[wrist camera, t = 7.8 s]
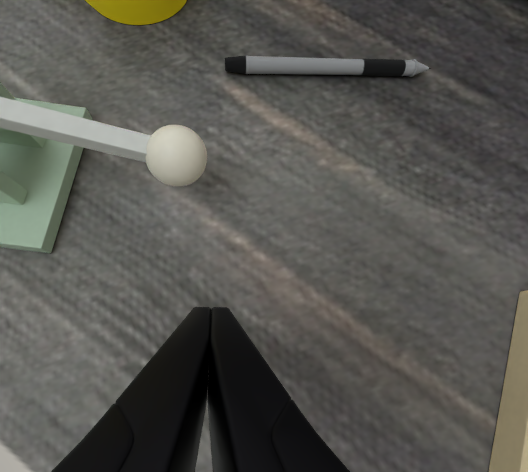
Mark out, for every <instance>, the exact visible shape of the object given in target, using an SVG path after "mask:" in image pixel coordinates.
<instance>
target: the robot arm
mask: <svg viewBox="0 0 528 472" xmlns="http://www.w3.org/2000/svg"><path fill="white" fill-rule="evenodd" d="M208 369H209V372H208ZM207 390H208V415H209V428H210V441H211V454H212V466H213V472H350V471H349V470H348V469H347V468H346V466H345V465H344V464H343V463H342V462H341V461H340V460H339V459H338V457H337V456H336V455H335V454H334V453H333V452H332V450H331V449H330V448H329V447H328V446H327V445H326V443H325V442H324V441H323V440H322V439H321V437H320V436H319V435H318V434H317V433H316V431H315V430H314V429H313V427H312V426H311V425H310V423H309V422H308V421H307V419H306V418H305V417H304V415H303V414H302V413H301V411H300V410H299V408H298V407H297V405H296V404H295V402H294V401H293V400H291V397H290V395H289V394H288V393H287V391H286V390H285V388H284V387H283V385H282V384H281V383H280V381H279V380H278V378H277V377H276V375H275V374H274V373H273V371H272V370H271V368H270V367H269V365H268V364H267V363H266V361H265V360H264V358H263V357H262V355H261V354H260V353H259V351H258V350H257V348H256V347H255V345H254V344H253V343H252V341H251V340H250V338H249V337H248V335H247V334H246V332H245V331H244V330H243V328H242V327H241V325H240V324H239V322H238V321H237V320H236V318H235V317H234V315H233V314H232V312H231V311H230V310H229V308H227V307H213V308H212V310H211V308H209V307H195V308H193V309H192V311H191V312H190V313H189V314H188V315H187V317H186V318H185V319H184V320H183V321H182V323H181V324H180V325H179V326H178V327H177V329H176V330H175V331H174V332H173V333H172V335H171V336H170V337H169V338H168V339H167V341H166V342H165V343H164V344H163V345H162V347H161V348H160V349H159V350H158V351H157V353H156V354H155V355H154V356H153V357H152V358H151V360H150V361H149V362H148V363H147V364H146V366H145V367H144V368H143V369H142V370H141V372H140V373H139V374H138V375H137V376H136V378H135V379H134V380H133V381H132V382H131V384H130V385H129V386H128V387H127V388H126V390H125V391H124V392H123V393H122V394H121V396H120V397H119V398H118V399H117V400H116V403H115V404H113V405H112V406H111V407H110V408H109V410H108V411H107V412H106V413H105V415H104V416H103V417H102V418H101V419H100V420H99V422H98V423H97V424H96V425H95V426H94V427H93V428H92V430H91V431H90V432H89V433H88V434H87V435H86V436H85V437H84V439H83V440H82V441H81V442H80V443H79V444H78V445H77V446H76V447H75V448H74V449H73V450H72V451H71V452H70V453H69V454H68V455H67V456H66V457H65V458H64V459H63V460H62V461H61V462H60V463H59V464H58V465H57V466H56V467H55V468H54V469H53V470H52V471H51V472H195V467H196V461H197V455H198V449H199V443H200V438H201V432H202V426H203V420H204V414H205V408H206V401H207Z"/></svg>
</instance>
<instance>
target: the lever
mask: <svg viewBox="0 0 528 472" xmlns="http://www.w3.org/2000/svg"><path fill="white" fill-rule="evenodd" d="M0 128H4V129H8V130H12V131H16V132H21V133H25V134H29V135H33V136H37V137H42V138H46V139H50V140H54V141H58V142H62V143H67V144H71V145H75V146H79V147H83V148H88V149H92V150H96V151H100V152H104V153H109V154H113V155H117V156H121V157H125V158H130V159H134V160H138V161H142V162H146V164H147V166H148V168H149V170H150V172H151V173H152V174H153V176H154V177H155V178H156V179H158V180H159V181H160V182H162V183H164V184H166V185H170V186H175V187H180V186H186V185H189V184H191V183H193V182H195V181H196V180H197V179H198V178H199V177H200V176H201V175H202V173H203V172H204V170H205V167H206V164H207V151H206V147H205V145H204V143H203V141H202V139H201V138H200V137H199V136H198V134H196V133H195V132H194V131H193V130H191V129H189V128H187V127H185V126H181V125H168V126H164V127H162V128H160V129H158V130H157V131H155V132H154V133H153V134H152V135H151V136H150V135H146V134H143V133H139V132H135V131H131V130H127V129H123V128H120V127H116V126H112V125H108V124H104V123H100V122H96V121H93V120H89V119H85V118H81V117H77V116H73V115H69V114H66V113H62V112H58V111H54V110H50V109H46V108H42V107H39V106H35V105H31V104H27V103H23V102H19V101H15V100H12V99H8V98H4V97H0Z"/></svg>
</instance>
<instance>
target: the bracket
mask: <svg viewBox="0 0 528 472" xmlns="http://www.w3.org/2000/svg"><path fill="white" fill-rule="evenodd" d="M0 97H4V98H8V99H12V100H15V101H19V102H23V103H27V104H31V105H35V106H39V107H42V108H46V109H50V110H54V111H58V112H62V113H66V114H69V115H73V116H77V117H81V118H85V119H89V120H92V117H91V115H90V114H89V112H88V111H87V109H86V108H83V107H76V106H69V105H62V104H55V103H48V102H40V101H33V100H26V99H19V98H14V97H13V96H12V95H11V94H10V93H9V91H8V90H7V89H6V88H5V87H4V86H3V85H2V84H1V82H0ZM82 151H83V147H79V146H75V145H71V144H67V143H62V142H58V141H54V140H50V139H46V138H42V137H37V136H33V135H29V134H25V133H21V132H16V131H12V130H8V129H4V128H0V247H2V248H10V249H18V250H26V251H35V252H43V253H51V252H52V249H53V245H54V242H55V239H56V236H57V232H58V229H59V226H60V223H61V219H62V216H63V213H64V210H65V206H66V203H67V200H68V197H69V193H70V190H71V187H72V184H73V180H74V177H75V174H76V171H77V167H78V164H79V161H80V158H81V154H82Z"/></svg>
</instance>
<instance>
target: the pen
mask: <svg viewBox="0 0 528 472" xmlns="http://www.w3.org/2000/svg"><path fill="white" fill-rule="evenodd" d="M428 69H431V68H428V67H427V66H425V65H423V64H421V63H419V62H417V61H416V60H415V59H413V60H386V59H332V58H298V57H264V56H247V55H246V56H238V57H227V58H225V70H226V71H228V72H236V73H243V74H325V75H373V76H409V77H413V76H414V75H416V74H418V73H421V72H424V71H427V70H428Z"/></svg>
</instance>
